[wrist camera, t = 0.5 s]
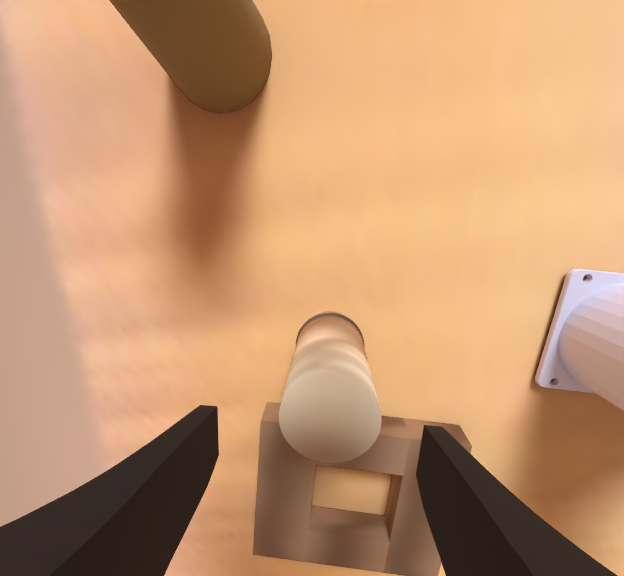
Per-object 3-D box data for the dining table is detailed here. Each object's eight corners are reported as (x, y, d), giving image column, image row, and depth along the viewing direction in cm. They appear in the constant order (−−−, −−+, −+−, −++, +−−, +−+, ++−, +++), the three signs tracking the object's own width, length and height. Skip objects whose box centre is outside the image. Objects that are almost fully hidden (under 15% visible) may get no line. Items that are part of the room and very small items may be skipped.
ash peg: (364, 306, 20) (391, 378, 11) (356, 363, 21) (375, 470, 12) (302, 300, 20) (280, 366, 11) (297, 356, 21) (273, 457, 12)
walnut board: (459, 425, 21) (471, 446, 19) (428, 550, 24) (436, 579, 22) (267, 402, 22) (260, 420, 20) (259, 528, 25) (253, 554, 23)
